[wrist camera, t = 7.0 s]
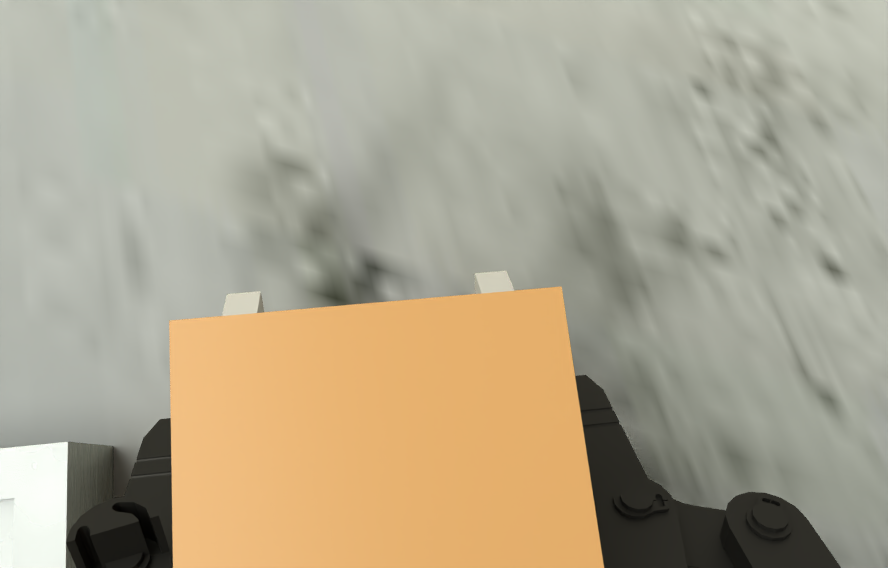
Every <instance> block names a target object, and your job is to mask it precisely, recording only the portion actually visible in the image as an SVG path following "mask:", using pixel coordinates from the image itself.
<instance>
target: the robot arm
mask: <svg viewBox="0 0 888 568" xmlns="http://www.w3.org/2000/svg"><path fill="white" fill-rule="evenodd" d="M505 291H514V288H513V286H512V284H511V281H510V279H509V276H508V274H507V271H497V272H485V273H475V294H482V293H493V292H505ZM263 312H264V307H263V302H262V296H261V291H259V292H247V293H235V294H227V297H226V301H225V305H224V309H223V313H222V316H229V315H240V314H252V313H263ZM575 379H576V386H577V392H578V399H579V405H580V412H581V419H582V425H583V432H584V438H585V445H586V452H587V458H588V465H589V471H590V478H591V485H592V491H593V498H594V504H595V511H596V518H597V524H598V531H599V537H600V544H601V551H602V557H603V564H604V568H841V567H840V566H839V564H838V563H837V561H836V560H835V558H834V557H833V556H832V554H831V553H830V551H829V550H828V548H827V547H826V545H825V544H824V543H823V541H822V540H821V538H820V537H819V535H818V534H817V533H816V531H815V530H814V528H813V527H812V525H811V524H810V522H809V521H808V520H807V518H806V517H805V516H804V515H803V514H802V513H801V512H800V511H799V510H798V509H797V508H796V507H795V506H793V505H792V504H790V503H788V502H787V501H785V500H783V499H782V498H779V497H776V496H773V495H770V494H767V493H756V492H748V493H744V494H741V495H738V496H736V497H734V498H733V499H732V500H731V501H730V502H729V503H728V505H727V509H726V510H719V509H712V508H705V507H698V506H693V505H689V504H684V503H681V502H679V501H676V500H674V499H672V497H671V495H670V494H669V493H668V492H667V491H666V490H665V489H664V488H663V487H662V486H661V485H659V484H657V483H655V482H653V481H651V480H649V479H648V477H647V476H646V474H645V472H644V470H643V468H642V466H641V464H640V462H639V460H638V458H637V456H636V454H635V452H634V450H633V448H632V446H631V444H630V442H629V440H628V438H627V436H626V434H625V432H624V430H623V428H622V426H621V425H619V420H618V418H617V416H616V414H615V412H614V411H612V406H611V404H610V402H609V400H608V398H607V396H606V394H605V393H604V391H603V389H602V388H600V387H599V386H598V385H597V384H596V383H594V382H593V381H592V380H591V379H590V378H588V377H587V376H586V375H582V376H575ZM66 545H67V547H68V549H69V552H70V554H71V556H72V559H73V561H74V563H75V566H76V568H173V533H172V465H171V418H168V419H160V420H159V421H158V422H157V423H156V424H155V426H154V427H153V428H152V429H151V430H150V431H149V432H148V434H147V435H146V436H145V437H144V438H143V441H142V444H141V447H140V450H139V453H138V456H137V463H135V465H134V468H133V471H132V474H131V480H129V483H128V486H127V490H126V493H125V496H124V497H118V498H112V499H110V500H107V501H105V502H103V503H100V504H98V505H95V506H94V507H93V508H91V509H90V510H88V511H87V512H86V513H84V514H83V515H81V516H80V518H79V519H78V520H77V521H76V522H75V524H74V525H73V526H72V527H71V529H70V531H69V534H68V537H67V540H66Z"/></svg>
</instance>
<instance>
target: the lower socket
mask: <svg viewBox="0 0 888 568" xmlns="http://www.w3.org/2000/svg"><path fill="white" fill-rule="evenodd" d="M112 498H113V446H107V445H96V444H85V443H75V442H61V443H52V444H42V445H32V446H22V447H12V448H2V449H0V568H76V566H75V563H74V561H73V559H72V556H71V554H70V552H69V549H68V547H67V545H66V540H67V537H68V534H69V531H70V529H71V527H72V526H73V525H74V524H75V522H76V521H77V520H78V519H79V518H80V516H81V515H83V514H84V513H86V512H87V511H88V510H90V509H91V508H93V507H94V506H95V505H98V504H100V503H103V502H105V501H107V500H110V499H112Z"/></svg>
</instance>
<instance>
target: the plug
mask: <svg viewBox="0 0 888 568" xmlns="http://www.w3.org/2000/svg"><path fill="white" fill-rule="evenodd" d="M169 330H170V398H171V465H172V533H173V568H604V564H603V557H602V551H601V544H600V537H599V531H598V524H597V518H596V511H595V504H594V498H593V491H592V485H591V478H590V471H589V465H588V458H587V452H586V445H585V438H584V432H583V425H582V419H581V412H580V405H579V399H578V392H577V386H576V379H575V372H574V366H573V359H572V353H571V346H570V339H569V333H568V326H567V320H566V313H565V306H564V300H563V293H562V287H551V288H540V289H528V290H517V291H505V292H493V293H482V294H470V295H459V296H447V297H436V298H424V299H413V300H401V301H390V302H378V303H367V304H355V305H344V306H332V307H321V308H309V309H298V310H286V311H275V312H263V313H252V314H240V315H229V316H217V317H206V318H194V319H182V320H171V321H169Z"/></svg>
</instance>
